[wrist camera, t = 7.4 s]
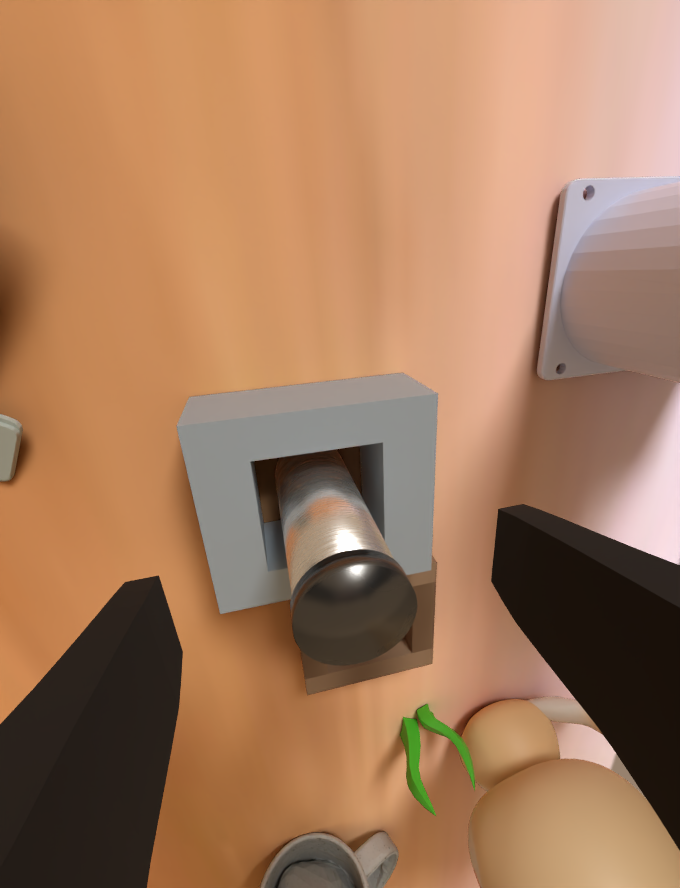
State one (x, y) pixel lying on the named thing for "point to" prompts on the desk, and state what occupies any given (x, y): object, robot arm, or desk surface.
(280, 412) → the dock
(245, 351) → the desk surface
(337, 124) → the desk surface
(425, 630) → the mount
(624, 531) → the desk surface
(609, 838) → the kitten
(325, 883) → the ceramic mug
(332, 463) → the pin
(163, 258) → the desk surface
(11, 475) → the metal bracket
